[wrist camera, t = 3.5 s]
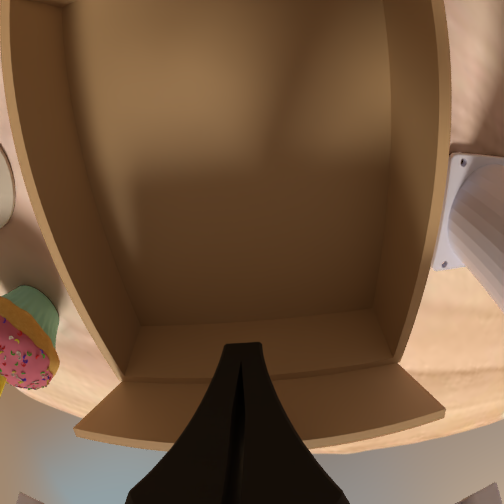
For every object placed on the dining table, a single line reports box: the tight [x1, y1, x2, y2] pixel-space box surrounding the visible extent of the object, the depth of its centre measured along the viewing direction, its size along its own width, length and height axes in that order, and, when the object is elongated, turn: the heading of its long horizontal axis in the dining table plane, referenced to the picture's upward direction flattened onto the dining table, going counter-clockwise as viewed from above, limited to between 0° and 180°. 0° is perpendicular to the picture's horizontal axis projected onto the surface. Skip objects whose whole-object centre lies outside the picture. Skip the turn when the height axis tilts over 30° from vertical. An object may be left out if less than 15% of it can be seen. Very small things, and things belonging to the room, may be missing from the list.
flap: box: [73, 363, 446, 451], centre depth 13 cm, size 17×6×1 cm
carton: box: [0, 0, 451, 384], centre depth 12 cm, size 17×22×5 cm
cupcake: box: [0, 285, 60, 397], centre depth 15 cm, size 9×8×12 cm
